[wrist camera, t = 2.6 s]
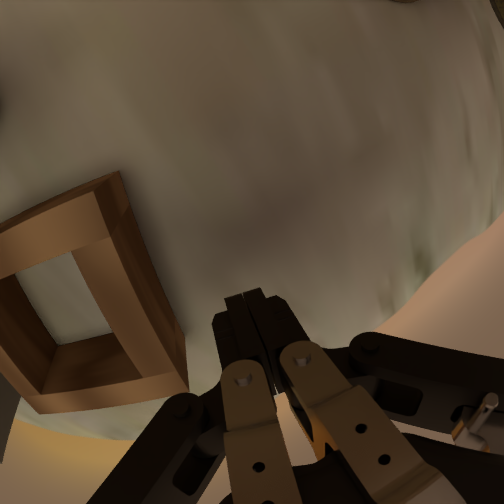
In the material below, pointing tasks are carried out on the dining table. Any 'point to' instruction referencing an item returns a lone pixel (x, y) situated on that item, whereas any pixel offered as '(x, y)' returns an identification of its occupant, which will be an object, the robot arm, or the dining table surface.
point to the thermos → (498, 10)
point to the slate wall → (6, 411)
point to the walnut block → (107, 297)
